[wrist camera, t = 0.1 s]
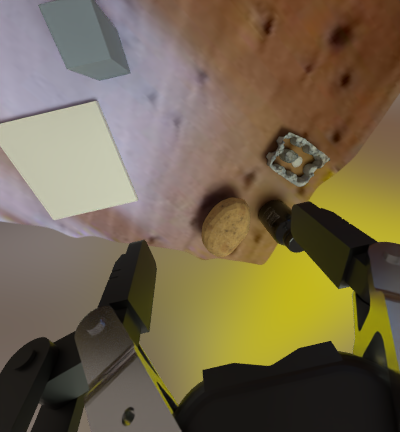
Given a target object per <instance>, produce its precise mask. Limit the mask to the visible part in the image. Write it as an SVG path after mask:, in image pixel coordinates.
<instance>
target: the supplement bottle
mask: <svg viewBox="0 0 400 432" xmlns="http://www.w3.org/2000/svg"><path fill="white" fill-rule="evenodd" d="M291 215H292V210H291V209H290V208H289V207H288V206H287V205H286V204H284V203H283V202H281V201H278V200H274V201H270V202H268V203H266V204H265V205H264V206H263V207H262V208H261V210H260V212H259V219H260V221H261V223H262V224H263V225H264V227H265V228H266V229H267V231H268V232H269V233H270V234H271V236H272V237H273V238H274V240H275V241H276V242H277V243H279V244H281V245H285V246H286V247H287V248H288V249H289V250H290V251H292V252H302V251H304V250H303V249H302V247H301V246H300V245H299V244H298V243H297V242H296V241H295V240H294V238H293V236H292V233H291Z"/></svg>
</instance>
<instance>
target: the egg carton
mask: <svg viewBox="0 0 400 432" xmlns="http://www.w3.org/2000/svg"><path fill="white" fill-rule="evenodd" d="M284 138H287V139H289V138H291V139H290V142H291V144H293V145H295V146H298V147H301V146H303V147H302V149H303V152H305V153H308V154H310V155H312V156H314V159H315V161H314V162H313V163H312V164H307V165H305V166H304V168H303V173H304V175H303V176H302V177H298V178H297V175H296V174H294V173H292V172H290V171H286V169H285V168H284V167H283V166H280V165H279V164H273V165H272V162H273V161H274V160H275V159H276V157H275V156H278V155H279V154H280V159H281V160H283V161H285V162H287V163H292V166H293V167H298V166H300V165H301V163H302V158H301V157H300V156H298V154H296V153H295V152H294V151H292V150H289V149H284V150H283V148H284V145H283V144H284V143H285V142H284V141H283V140H284ZM276 142H277V143H278V149H277V150H276V151H275V152H273V153H270V152H269V153H268V154H267V156H266V157H267V159H268V163H267V165H268V166H270V167H271V168H272V169H273V170H274V171H275V172H277V173H278V174H279V175H281V176H283V177H284V178H285V179H287V180H288V181H290V182H291V183H293V184H295V185H296V186H304V185H305V184H306V183H307V182H308V180H309V179H310V178H311V177H312V176H314V174H313V173H314V171H315V170H316V169H317V168H321V167H322V166H323V165H324V164H325V163H326V162H327V161H330V158H328V156H326V155H325V154H324V153H323V152H321V151H320V150H318V149H317V148H316V147H315V146H313V145H312V144H311V143H309V142H308V141H307V140H306V139H304V138H302V137H300V136H297V135H295V134H293V133H290V132H289V134H287V135H286V136H284V137H279V138H278V139H277V141H276Z"/></svg>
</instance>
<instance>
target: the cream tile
mask: <svg viewBox="0 0 400 432" xmlns="http://www.w3.org/2000/svg"><path fill="white" fill-rule="evenodd" d="M0 146H1V148H2V149H3V150H4V152H5V153H6V155H7V156H8V157H9V159H10V160H11V162H12V163H13V164H14V166H15V167H16V169H17V170H18V171H19V173H20V174H21V175H22V177H23V178H24V180H25V181H26V182H27V184H28V185H29V187H30V188H31V189H32V191H33V192H34V193H35V195H36V196H37V198H38V199H39V200H40V202H41V203H42V205H43V206H44V207H45V209H46V210H47V212H48V213H49V214H50V216H51V217H52V218H53V220H56V219H61V218H65V217H69V216H74V215H78V214H82V213H87V212H91V211H95V210H100V209H104V208H108V207H113V206H117V205H121V204H126V203H130V202H134V201H138V197H137V195H136V192H135V190H134V187H133V185H132V182H131V180H130V178H129V175H128V173H127V170H126V168H125V166H124V163H123V161H122V158H121V156H120V153H119V151H118V149H117V146H116V144H115V141H114V139H113V137H112V134H111V132H110V129H109V127H108V124H107V122H106V120H105V117H104V115H103V112H102V110H101V108H100V105H99V103H98V101H93V102H89V103H85V104H81V105H77V106H72V107H68V108H64V109H60V110H56V111H51V112H47V113H43V114H39V115H35V116H30V117H26V118H22V119H18V120H14V121H9V122H5V123H1V124H0Z"/></svg>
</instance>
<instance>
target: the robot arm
mask: <svg viewBox="0 0 400 432" xmlns="http://www.w3.org/2000/svg"><path fill="white" fill-rule="evenodd" d="M291 233H292V236H293V238H294V240H295V241H296V242H297V243H298V244H299V245H300V246H301V247H302V249H303V250H304V251H305V252H306V253H307V254H308V255H309V256H310V258H311V259H312V260H313V261H314V262H315V263H316V264H317V265H318V266H319V267H320V269H321V270H322V271H323V272H324V273H325V274H326V275H327V276H328V277H329V279H330V280H331V281H332V282H333V283H334V284H335V285H336V287H337V288H338V289H341V288H346V287H351V288H352V289H353V290H354V291H353V295H352V298H353V313H354V329H355V340H354V346H353V354H350V353H346V352H341V351H337V350H336V348H335V347H334V345H333V344H332V342H331V341H328V342H324V343H320V344H315V345H311V346H307V347H302V348H299V349H297V350H295V351H294V352H292V353H291V354H289V355H288V356H286V357H284V358H283V359H281V360H280V361H278V362H276V363H275V364H273V365H271V366H262V365H251V364H239V363H232V364H227V365H223V366H219V367H214V368H210V369H206V370H203V381H202V382H200V383H199V384H197V385H196V386H195V387H194V388H193V389H191V391H190V392H189V393H188V394H187V395H186V396H185V397H184V399H183V400H182V401H181V403H180V404H179V405H178V403H177V402H176V400H175V399H174V397H173V396H172V394H171V393H170V391H169V390H168V388H167V387H166V385H165V384H164V382H163V381H162V379H161V378H160V376H159V375H158V373H157V371H156V369H155V368H154V366H153V365H152V363H151V361H150V360H149V358H148V357H147V355H146V353H145V352H144V350H143V349H142V347H141V345H140V344H139V340H140V334H142V333H146V332H149V330H150V322H151V313H152V305H153V297H154V289H155V280H156V270H157V268H156V263H155V260H154V258H153V255H152V253H151V251H150V249H149V247H148V244H147V242H146V241H145V240H141V241H137V242H133V243H130V244H129V246H128V249H127V252H126V254H123V255H121V256H120V258H119V259H118V260H117V261H116V262H115V265H114V267H113V270H112V273H111V275H110V277H109V280H108V282H107V285H106V287H105V290H104V293H103V295H102V298H101V300H100V303H99V305H98V308H97V309H95V310H93V311H91V312H90V313H89V314H88V315H86V316H85V317H84V318H83V320H82V321H81V322H80V323H79V325H78V327H77V329H76V331H74V332H73V333H71V334H69V335H67V336H65V337H63V338H61V339H59V340H58V341H56V342H54V343H52V342H51V341H50V340H49V339H47V338H45V337H41V338H37V339H34V340H32V341H30V342H29V343H27V344H26V345H24V346H23V347H22V348H20V349H19V350H18V351H17V352H16V353H15V354H14V355H13V356H12V357H11V359H10V360H9V361H8V362H7V364H6V365H5V367H4V368H3V370H2V372H1V373H0V432H26V431H27V429H28V427H29V424H30V422H31V419H32V417H33V415H34V413H35V410H36V408H37V406H38V403H39V404H41V405H42V406H41V408H40V410H39V413H38V415H37V418H36V420H35V423H34V425H33V428H32V430H31V432H77V431H78V427H79V423H80V419H81V416H82V412H83V408H84V406H85V410H86V414H87V418H88V422H89V426H90V430H91V432H400V244H396V243H390V242H377V241H375V240H374V239H372V238H371V237H369V236H368V235H366V234H365V233H364V232H362V231H360V230H359V229H357V228H356V227H355V226H353V225H351V224H349V223H348V222H347V221H345V220H344V219H342V218H341V217H340V216H338V215H336V214H335V213H334V212H331V211H329V210H326V209H323V208H321V209H320V208H318V207H317V206H316V205H314V204H312V203H311V202H309V201H308V202H304V203H300V204H295V205H293V207H292V215H291ZM88 390H89V391H88Z"/></svg>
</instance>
